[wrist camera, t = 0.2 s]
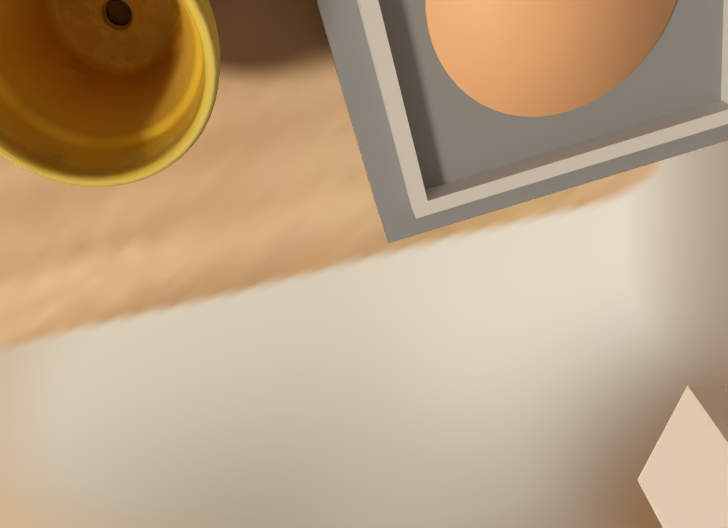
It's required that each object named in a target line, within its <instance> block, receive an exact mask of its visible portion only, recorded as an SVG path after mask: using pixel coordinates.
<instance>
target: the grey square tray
mask: <svg viewBox="0 0 728 528" xmlns="http://www.w3.org/2000/svg"><path fill="white" fill-rule="evenodd" d="M316 4H317V7H318V10H319V14H320V17H321V21H322V24H323V27H324V31H325V34H326V37H327V41H328V44H329V48H330V51H331V54H332V58H333V61H334V64H335V68H336V71H337V75H338V78H339V81H340V85H341V88H342V91H343V95H344V98H345V102H346V105H347V108H348V112H349V115H350V119H351V122H352V125H353V129H354V132H355V135H356V139H357V142H358V146H359V149H360V152H361V156H362V159H363V162H364V166H365V169H366V173H367V176H368V179H369V183H370V186H371V189H372V193H373V196H374V200H375V203H376V206H377V209H378V212H379V215H380V218H381V221H382V225H383V228H384V231H385V234H386V237H387V240H388V243H390V242H394V241H397V240H400V239H404V238H407V237H410V236H414V235H417V234H420V233H423V232H427V231H430V230H433V229H437V228H440V227H443V226H447V225H450V224H453V223H456V222H460V221H463V220H466V219H470V218H473V217H476V216H479V215H483V214H486V213H489V212H493V211H496V210H499V209H503V208H506V207H509V206H512V205H516V204H519V203H522V202H526V201H529V200H532V199H536V198H539V197H542V196H545V195H549V194H552V193H555V192H559V191H562V190H565V189H569V188H572V187H575V186H578V185H582V184H585V183H588V182H592V181H595V180H598V179H602V178H605V177H608V176H611V175H615V174H618V173H621V172H625V171H628V170H631V169H634V168H638V167H641V166H644V165H648V164H651V163H654V162H658V161H661V160H664V159H667V158H671V157H674V156H677V155H681V154H684V153H687V152H691V151H693V150H697V149H700V148H704V147H707V146H710V145H714V144H717V143H720V142H724V141H727V140H728V0H316Z"/></svg>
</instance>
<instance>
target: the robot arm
mask: <svg viewBox="0 0 728 528" xmlns="http://www.w3.org/2000/svg"><path fill="white" fill-rule="evenodd" d="M638 482H639V484H640V486H641V487H642V489H643V491H644V493H645V495H646V497H647V499H648V500H649V502H650V504H651V506H652V508H653V510H654V512H655V514H656V516H657V518H658V519H659V521H660V523H661V525H662V527H663V528H728V391H727V390H726V389H725V388H724V387H723V386H687V388H686V390H685V391H684V393H683V395H682V397H681V399H680V401H679V403H678V405H677V406H676V408H675V410H674V412H673V414H672V416H671V418H670V420H669V422H668V423H667V425H666V427H665V429H664V431H663V433H662V435H661V437H660V438H659V440H658V442H657V444H656V446H655V448H654V450H653V452H652V454H651V455H650V458H649V459H648V461H647V463H646V465H645V467H644V469H643V471H642V472H641V474H640V476H639V478H638Z"/></svg>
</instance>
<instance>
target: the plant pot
mask: <svg viewBox="0 0 728 528" xmlns="http://www.w3.org/2000/svg"><path fill="white" fill-rule="evenodd" d="M109 1H113V0H0V155H1V156H3V157H4V158H6V159H7V160H9V161H10V162H12V163H14V164H16V165H18V166H19V167H21V168H23V169H25V170H27V171H29V172H32V173H34V174H36V175H39V176H42V177H44V178H47V179H51V180H54V181H57V182H62V183H66V184H71V185H78V186H88V187H106V186H117V185H124V184H129V183H133V182H137V181H140V180H143V179H146V178H148V177H150V176H153V175H155V174H157V173H159V172H161V171H162V170H164V169H166V168H167V167H169V166H170V165H172V164H173V163H174V162H176V161H177V160H178V159H180V158H181V157H182V156H183V155H184V154H185V153H186V152H187V151H188V150H189V149H190V148H191V146H192V145H193V144H194V143H195V142H196V140H197V139H198V138H199V136H200V135H201V133H202V132H203V130H204V128H205V126H206V124H207V122H208V120H209V118H210V116H211V113H212V110H213V107H214V104H215V100H216V95H217V90H218V83H219V74H220V44H219V36H218V29H217V24H216V20H215V17H214V13H213V10H212V7H211V4H210V2H209V0H121V1H123V2H124V3H126V4H127V5H128V7H129V8H130V11H131V19H130V21H129V23H127V24H126V25H123V26H119V25H115V24H113V23H112V22H111V21H110V20H109V19H108V18H107V15H106V12H105V8H106V5H107V4H108V2H109Z"/></svg>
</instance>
